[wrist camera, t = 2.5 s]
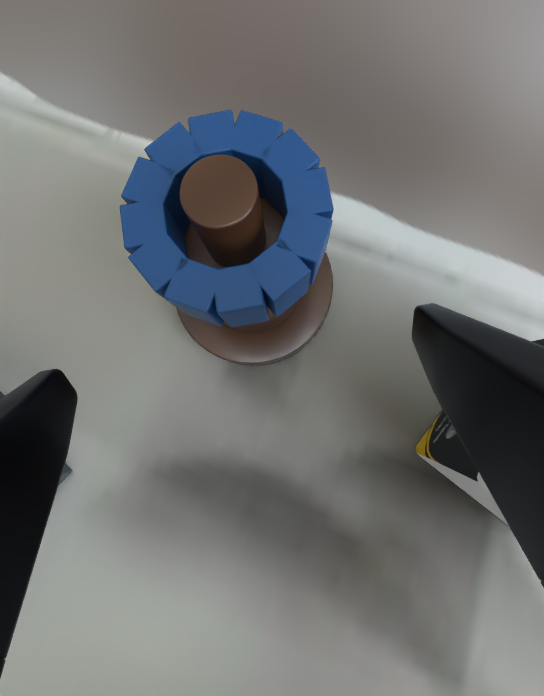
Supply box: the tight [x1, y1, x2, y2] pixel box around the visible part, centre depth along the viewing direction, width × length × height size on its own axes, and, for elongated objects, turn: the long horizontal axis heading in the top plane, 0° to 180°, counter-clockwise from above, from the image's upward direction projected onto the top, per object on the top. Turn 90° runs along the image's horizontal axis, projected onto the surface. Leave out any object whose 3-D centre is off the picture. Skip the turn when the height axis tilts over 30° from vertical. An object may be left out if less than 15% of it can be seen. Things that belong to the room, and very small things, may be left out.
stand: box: [176, 155, 333, 365], centre depth 16 cm, size 9×9×10 cm
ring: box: [120, 110, 333, 327], centre depth 13 cm, size 7×7×2 cm
